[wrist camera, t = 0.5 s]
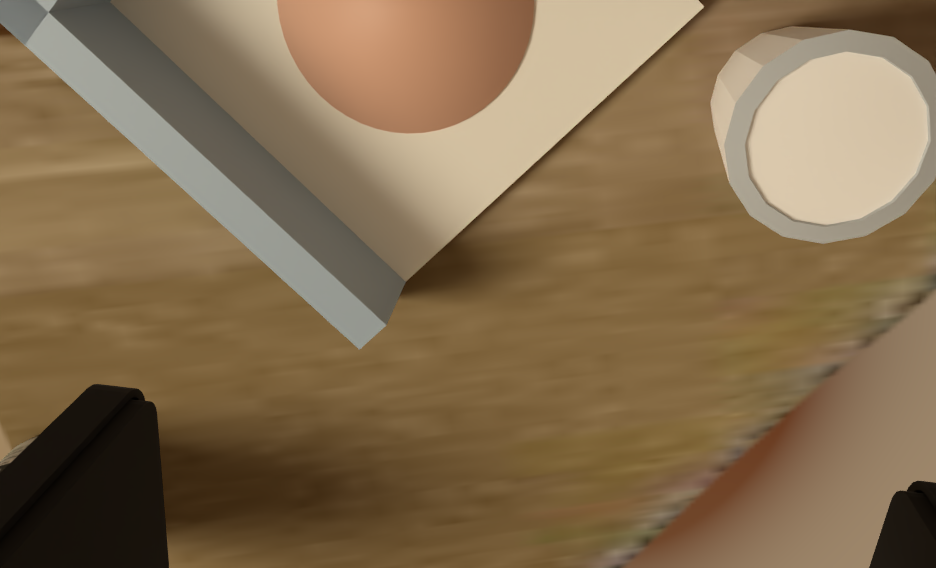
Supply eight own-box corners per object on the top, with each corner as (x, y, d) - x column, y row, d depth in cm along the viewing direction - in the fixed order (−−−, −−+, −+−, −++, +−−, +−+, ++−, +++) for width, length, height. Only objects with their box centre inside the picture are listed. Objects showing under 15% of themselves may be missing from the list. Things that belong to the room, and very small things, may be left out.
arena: (354, -397, 28) (313, -459, 24) (701, 5, 32) (724, 18, 28) (64, 0, 35) (-13, 11, 30) (383, 298, 38) (359, 349, 34)
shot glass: (699, 12, 32) (732, 34, 26) (889, 5, 31) (971, 25, 25) (689, 187, 35) (717, 245, 28) (864, 184, 34) (933, 244, 28)
